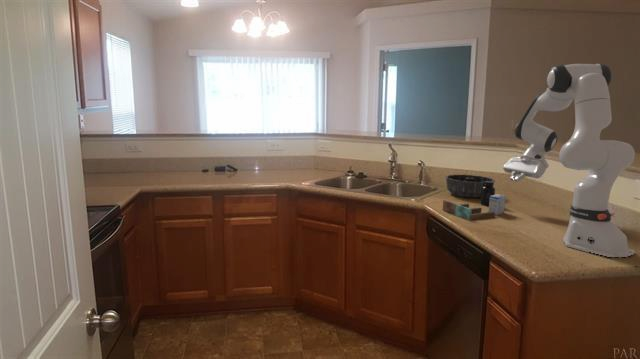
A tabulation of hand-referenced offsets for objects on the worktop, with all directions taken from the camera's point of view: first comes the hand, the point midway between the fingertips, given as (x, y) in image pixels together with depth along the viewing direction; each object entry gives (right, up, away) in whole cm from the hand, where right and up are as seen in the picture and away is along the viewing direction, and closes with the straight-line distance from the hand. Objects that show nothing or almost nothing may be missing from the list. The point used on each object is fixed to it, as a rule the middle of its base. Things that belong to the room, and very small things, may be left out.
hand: (513, 180), depth 203 cm
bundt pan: (-8, -9, +39) cm, 41 cm away
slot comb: (-22, -16, -2) cm, 27 cm away
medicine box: (-9, -16, -1) cm, 18 cm away
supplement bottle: (-7, -13, +16) cm, 22 cm away
